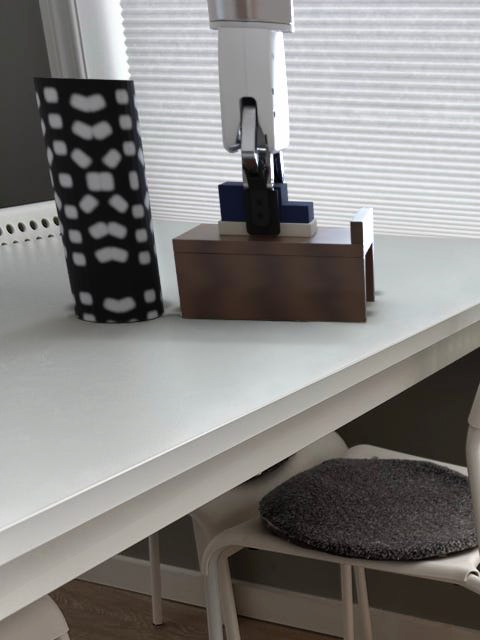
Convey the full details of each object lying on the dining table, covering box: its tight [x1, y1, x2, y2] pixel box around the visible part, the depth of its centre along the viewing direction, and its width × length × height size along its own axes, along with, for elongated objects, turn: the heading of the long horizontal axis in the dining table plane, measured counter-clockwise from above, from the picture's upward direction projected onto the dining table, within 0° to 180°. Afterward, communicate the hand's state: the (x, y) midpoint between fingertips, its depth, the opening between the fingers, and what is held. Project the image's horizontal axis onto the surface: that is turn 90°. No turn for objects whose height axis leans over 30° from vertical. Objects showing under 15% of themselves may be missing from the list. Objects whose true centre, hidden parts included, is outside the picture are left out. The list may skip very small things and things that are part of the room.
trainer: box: [217, 180, 318, 237], centre depth 93 cm, size 9×4×4 cm, turn 91°
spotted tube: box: [32, 76, 165, 324], centre depth 88 cm, size 8×8×20 cm
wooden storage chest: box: [171, 206, 376, 324], centre depth 96 cm, size 18×12×9 cm, turn 91°
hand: (268, 229), depth 94 cm, fingers closed on trainer, 4 cm apart
